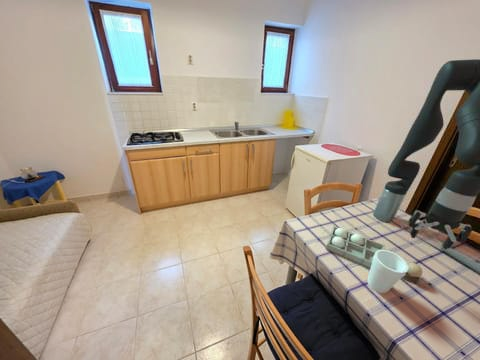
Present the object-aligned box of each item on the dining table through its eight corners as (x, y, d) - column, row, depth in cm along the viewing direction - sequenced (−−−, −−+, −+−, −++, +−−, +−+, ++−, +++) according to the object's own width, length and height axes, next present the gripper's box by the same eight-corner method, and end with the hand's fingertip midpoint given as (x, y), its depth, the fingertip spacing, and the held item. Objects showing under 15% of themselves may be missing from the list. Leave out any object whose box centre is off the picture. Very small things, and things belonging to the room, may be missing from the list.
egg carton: (332, 230, 97) (333, 226, 96) (382, 250, 87) (384, 245, 86) (325, 249, 87) (327, 244, 85) (381, 273, 77) (384, 268, 75)
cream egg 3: (349, 238, 92) (353, 230, 90) (361, 242, 90) (365, 234, 88) (348, 244, 88) (351, 236, 86) (360, 249, 86) (364, 241, 84)
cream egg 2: (331, 240, 90) (334, 232, 88) (343, 245, 88) (346, 237, 86) (329, 247, 87) (332, 239, 84) (341, 252, 84) (344, 244, 82)
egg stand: (401, 268, 79) (403, 265, 78) (416, 275, 76) (418, 271, 76) (402, 277, 75) (404, 274, 74) (417, 284, 73) (420, 281, 72)
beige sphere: (402, 266, 78) (407, 257, 76) (418, 272, 76) (424, 264, 74) (403, 275, 75) (408, 266, 72) (419, 282, 72) (426, 273, 70)
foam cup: (378, 300, 67) (393, 275, 61) (357, 276, 75) (368, 252, 69) (399, 293, 70) (415, 268, 64) (376, 271, 77) (389, 247, 71)
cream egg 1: (334, 232, 95) (337, 224, 93) (345, 236, 93) (348, 228, 91) (332, 238, 92) (335, 230, 89) (344, 243, 89) (347, 234, 87)
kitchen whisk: (492, 284, 74) (502, 273, 71) (395, 229, 101) (400, 219, 98) (497, 278, 76) (508, 267, 74) (402, 225, 103) (407, 216, 100)
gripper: (480, 205, 61) (452, 244, 68) (421, 191, 68) (402, 228, 75) (489, 217, 55) (458, 258, 62) (424, 200, 62) (403, 239, 69)
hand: (427, 242), depth 69 cm, fingers open, 8 cm apart
